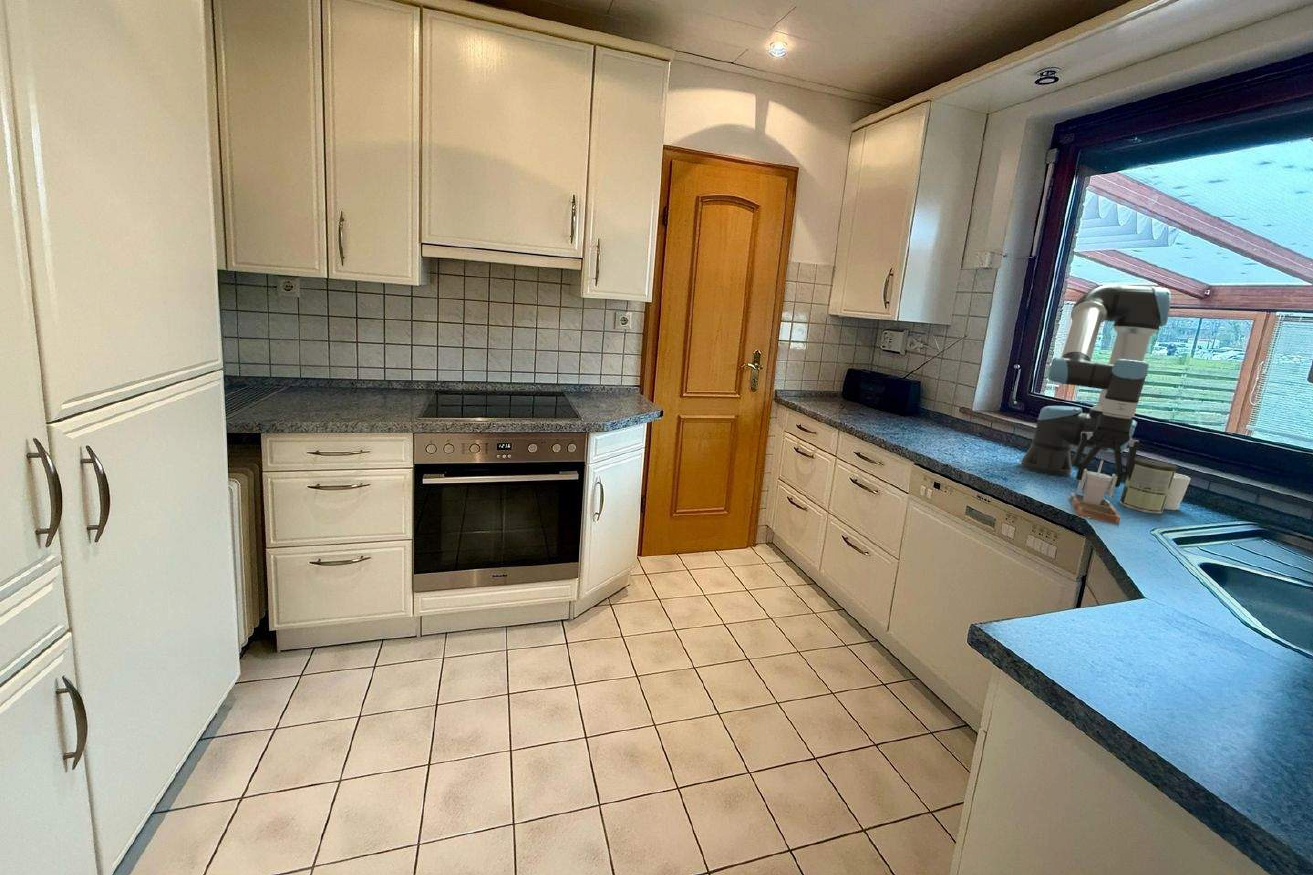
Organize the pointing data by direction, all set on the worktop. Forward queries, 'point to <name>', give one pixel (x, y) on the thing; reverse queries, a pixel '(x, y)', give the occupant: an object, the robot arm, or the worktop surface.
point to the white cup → (1176, 491)
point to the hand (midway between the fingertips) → (1093, 493)
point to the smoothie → (1096, 486)
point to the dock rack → (1095, 509)
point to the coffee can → (1148, 485)
